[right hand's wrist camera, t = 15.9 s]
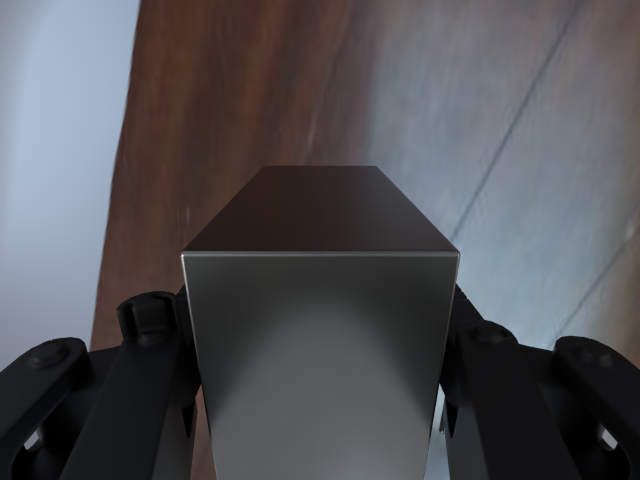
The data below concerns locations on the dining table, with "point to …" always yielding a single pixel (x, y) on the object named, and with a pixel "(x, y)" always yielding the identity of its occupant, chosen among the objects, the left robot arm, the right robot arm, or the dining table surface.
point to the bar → (320, 326)
